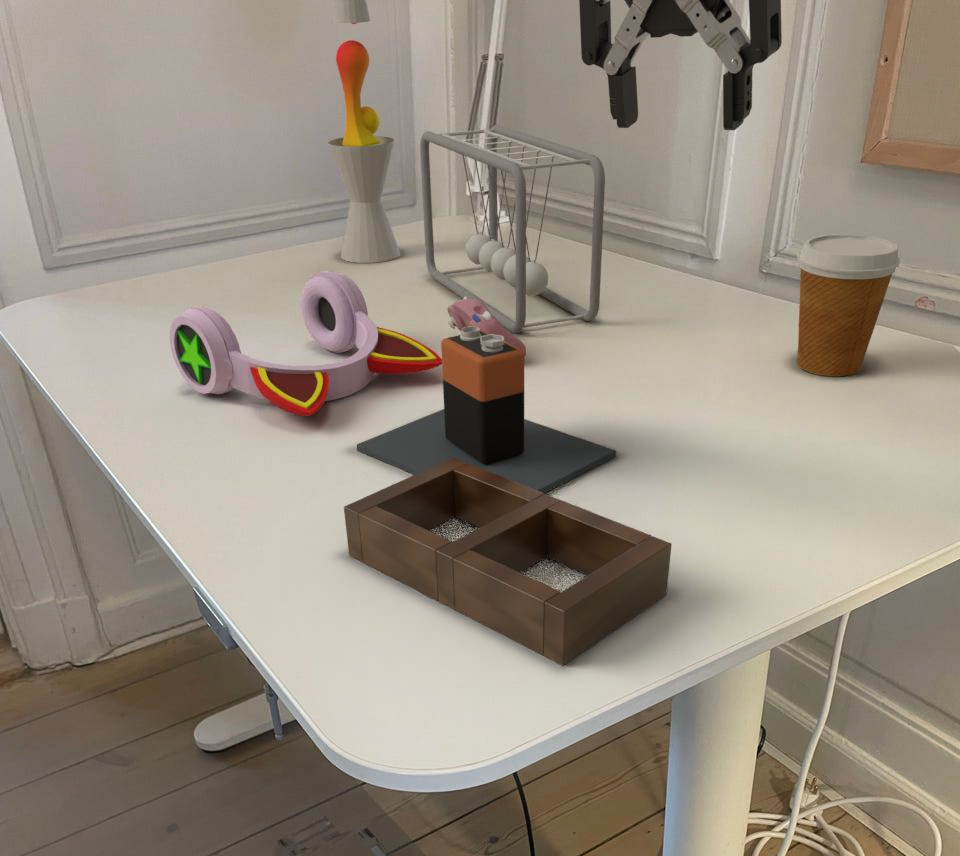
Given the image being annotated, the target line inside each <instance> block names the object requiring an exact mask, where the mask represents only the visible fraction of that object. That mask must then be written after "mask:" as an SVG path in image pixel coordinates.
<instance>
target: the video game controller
mask: <svg viewBox="0 0 960 856" xmlns="http://www.w3.org/2000/svg"><path fill="white" fill-rule="evenodd" d="M446 310H447V314H448V315H449V317H450V319H447V321H448V325H449V327H450V328H451V329H452V330H456V328H457V329H458V331H460V332H461V329H462V328H464V327H468V326H474V327H478V328H479V329H480V331H485V332H487V333H489V334H495V335H501V336H503V337H504V341H505V342H507V343H509V344H511V345H513V346H515V347H517V348H519V349H521V350H522V351H523V352H524V359H525V358H526V356H527V348H526V345H525V344H524V342H523V341H521V339H519V338H518V337H517V336H515V335H514V334H512V332H509V330H508V329H507V328H505V327H504V326H502V325H501V324H500V323H499V322H498V320H497V319H496V318H495V317H494V316H493V315H492V314H491V313H490V312H489V311H488V308H487V307H486V305H485V304H484V303H483V302H481V301H479V300H476V299H467V298H466V296H465V297H464V298H462V299H457V300H456V301H455V302H453V303H452V304H450V305H449V306H448V307H447V308H446Z"/></svg>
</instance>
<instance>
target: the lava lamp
mask: <svg viewBox="0 0 960 856" xmlns="http://www.w3.org/2000/svg"><path fill="white" fill-rule="evenodd" d="M368 22H371V18H370V13H369V8H368V3H367V0H332V15H331V23H333V24H352V25H356V24H359V23H368ZM335 61H336V66H337V69H338V70H337V71H338V73H339V77H340V81H341V85H342V90H343V93H344V94H343V95H344V103H345V104H344V105H345V115H346V116H345V130H344V136H343V137H339V138H335V139H330V140H329V141H327V142H328V143H327V145H328V147H329V150H330V152H331V155H332V158H333V160H334V163H335V165H336V167H337V169H338V172H339V174H340V177H341V179H342V182H343V184H344V186H345V189H346V191H347V195H348V197H349V199H350V202H349V209H348V214H347V219H346V225H345V230H344V236H343V241H342V245H341V252H340V258H341V260H343V261H346V262H350V263H357V264H373V263H383V262H387V261H392V260H394V259H397V258H399V257H400V256H401V252H400V249H399V246H398V242H397V240H396V237H395V235H394V231H393V228H392V226H391V224H390V220H389V218H388V215H387V212H386V209H385V206H384V203H383V200H382V197H383V192H384V188H385V184H386V181H387V175H388V171H389V167H390V163H391V158H392V154H393V149H394V146H395V139H394V138H393V137H389V136H382V135H374V134H376V132H377V131H378V130H379V127H380V117H379V114H378V113H377V111H376V110H375V109H374V108H372V107H370V106H362V105H361V104H362V103H361V102H362V101H361V93H362V90H363V89H362V88H363V85H364V80H365V78H366V75H367V72H368V69H369V66H370V56H369V52H368V49H367V48H366V47H365V45H363V43H361V42H359V41H357V40H354V39H353V40H352V39H350V40H346V41H344V42H343V43H341V44H340V46H339V47H338V48H337V51H336V55H335Z"/></svg>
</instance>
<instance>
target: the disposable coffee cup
mask: <svg viewBox="0 0 960 856" xmlns="http://www.w3.org/2000/svg"><path fill="white" fill-rule="evenodd" d="M898 249H899V247H898V244H897V243H895V242H893V241H891V240H889V239H885V238H882V237H878V236H873V235H872V236H871V235H864V234H850V233H849V234H848V233H834V234H833V233H831V234H822V235H817V236H813V237H810V238H808V239H806V240H805V241H804V243H803V246H802V249H801V251H800V252H798V254H797V257H796V259H797V261H798V267H799V268H800V277H799V278H800V279H799V282H800V283H799V307H798V308H799V309H798V310H799V311H798V336H797V337H798V340H797V343H798V344H797V364H796V365H797V366H798V367H799V368H800V369H801V370H803V371H805V372H808V373H811V374H815V375H818V376H825V377H843V376H850V375H855V374H857V373H859V372H860V371H861V369H862V366H863V363H864V360H865V357H866V354H867V351H868V348H869V345H870V342H871V339H872V336H873V333H874V330H875V327H876V325H877V321H878V318H879V314H880V312H881V309H882V306H883V304H884V300H885V297H886V295H887V291H888V288H889V284H890V282H891V279H892V277H893V274H894V273H895V272H896V269H897V268H898V267H899V265H900V264H901V259H900V258H899V250H898Z"/></svg>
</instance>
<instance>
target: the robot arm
mask: <svg viewBox="0 0 960 856" xmlns="http://www.w3.org/2000/svg"><path fill="white" fill-rule="evenodd" d="M578 1H579V4H578V7H579V27H580V31H579V32H580V53H581V54H580V55H581V60H582V62H583V63H584V65H586V66H593V65H594V66H596V67H599V68H601V69H603V70H604V72H605V73H606V75H607V83H608V97H609V111H610V115H611V118H612V120H616V126H617V128H618V129H628V128H630V127H631V126H633V125H634V124H635V123H636V122H637V121H638V119H639V103H638V85H637V69H636V68H637V67H636V66H635V65H634V66H632V63H633V61H634V59H635V57H636V55H637V53H638V52H639V50H640V49H641V46H642V44H643V42H644V41H645V39H647V38H648V36H649V37H650V38H663V37H665V36H667V35H674V36H677V37H681V38H682V37H693V36H694V35H696V34H697V33H698V34H699V35H700V38H701V39H702V41H703V42H704V43H705V45H706V46H707V47H708V48H709V49H713V50H714V52H715V53H716V54H717V55H716V56H718V58H719V59H720V61H721V62H722V64H723V65H724V67H725V68H726V70H727V72H725V73H723V75H722V112H723V113H722V117H723V118H722V127H723V130H724V131H736V130H737V129H738V128H740V126H742V125H743V123H744V121H745V119H746V118H747V117H748V116H750V114H751V111H752V109H753V69H754V66H755V65H756V64H762V63H764V62H765V61H766V60H767V59H768V58H769V57H770V56H772V55H773V54H775V53H776V52H778V50H780V48H781V46H782V44H783V43H782V42H783V41H782V37H783V36H782V0H748V13H749V14H748V15H749V16H748V19H749V36H748V35H747V33H746V31H745V30H744V28H743V26H742V19H741V17H740V15H739V13H738V12H737V11H736V9H735V8H734V6H733V4H732V3H731V1H730V0H623V1H624V3H625V4H626V6H627V8H628V11H627V13H626V15H625V17H624V19H623V20H622V22H621V24H620V26H619V28H618V30H617V31H616V34H615V35H614V42H613V43H612V15H611V14H612V13H611V11H612V10H611V8H612V7H611V0H578Z"/></svg>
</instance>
